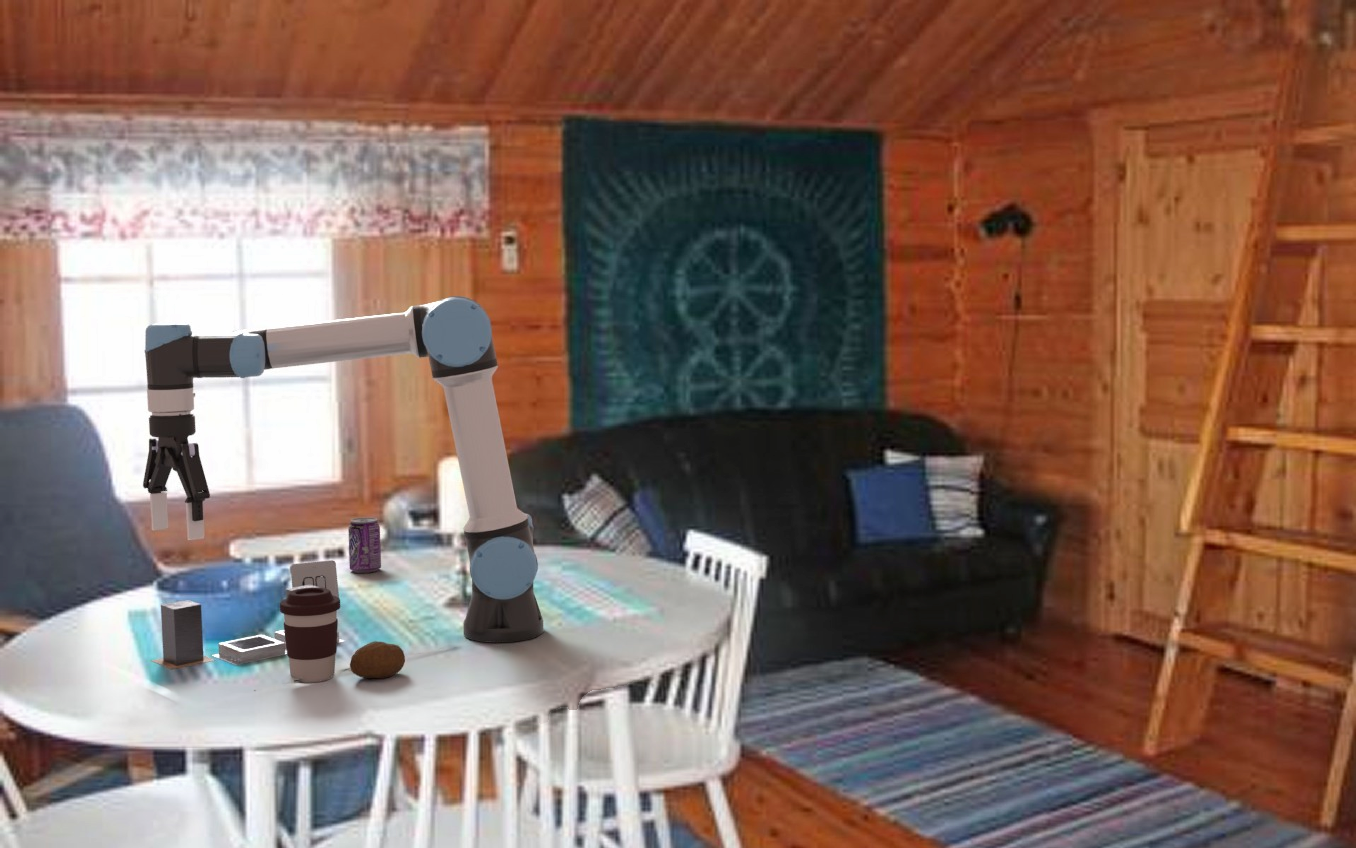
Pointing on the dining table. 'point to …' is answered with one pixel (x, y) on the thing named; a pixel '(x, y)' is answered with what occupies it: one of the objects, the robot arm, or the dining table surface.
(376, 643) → the potato
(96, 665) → the dining table surface
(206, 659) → the walnut pad
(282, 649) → the white recessed tray
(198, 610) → the block
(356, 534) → the beverage can
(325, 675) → the coffee cup
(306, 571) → the electrical switch
